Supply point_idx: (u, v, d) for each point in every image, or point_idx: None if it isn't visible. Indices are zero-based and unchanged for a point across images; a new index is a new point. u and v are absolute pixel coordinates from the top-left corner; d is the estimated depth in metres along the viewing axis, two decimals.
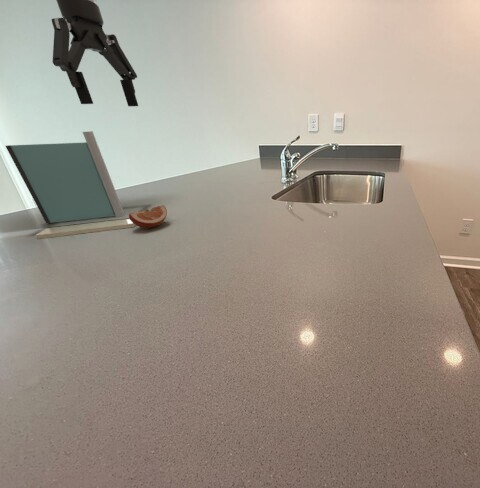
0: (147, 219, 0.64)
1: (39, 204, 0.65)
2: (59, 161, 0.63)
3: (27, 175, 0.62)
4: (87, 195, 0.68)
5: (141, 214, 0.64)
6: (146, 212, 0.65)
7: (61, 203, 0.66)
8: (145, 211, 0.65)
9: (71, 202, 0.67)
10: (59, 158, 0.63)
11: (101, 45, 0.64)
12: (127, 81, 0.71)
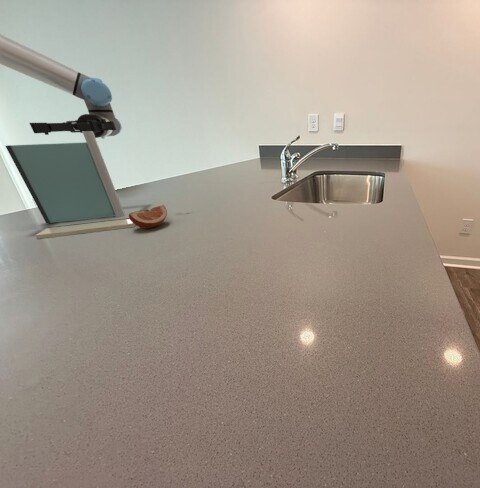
0: (147, 219, 0.64)
1: (39, 204, 0.65)
2: (59, 161, 0.63)
3: (27, 175, 0.62)
4: (87, 195, 0.68)
5: (141, 214, 0.64)
6: (146, 212, 0.65)
7: (61, 203, 0.66)
8: (145, 211, 0.65)
9: (71, 202, 0.67)
10: (59, 158, 0.63)
11: (80, 130, 0.85)
12: (49, 130, 0.78)
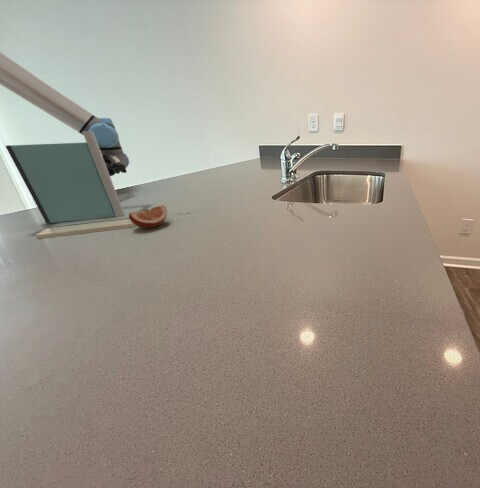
0: (147, 219, 0.64)
1: (39, 204, 0.65)
2: (59, 161, 0.63)
3: (27, 175, 0.62)
4: (87, 195, 0.68)
5: (141, 214, 0.64)
6: (146, 212, 0.65)
7: (61, 203, 0.66)
8: (145, 211, 0.65)
9: (71, 202, 0.67)
10: (59, 158, 0.63)
11: None
12: None
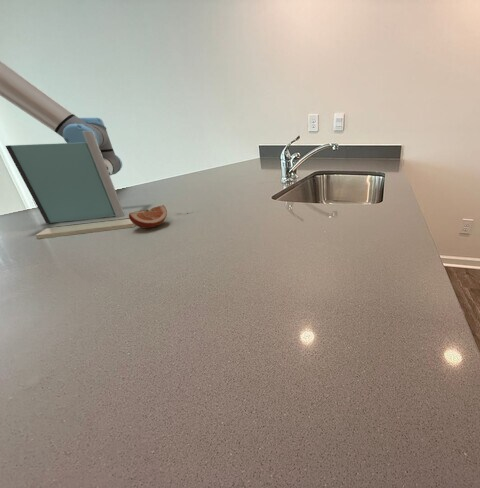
0: (147, 219, 0.64)
1: (39, 204, 0.65)
2: (59, 161, 0.63)
3: (27, 175, 0.62)
4: (87, 195, 0.68)
5: (141, 214, 0.64)
6: (146, 212, 0.65)
7: (61, 203, 0.66)
8: (145, 211, 0.65)
9: (71, 202, 0.67)
10: (59, 158, 0.63)
11: None
12: None
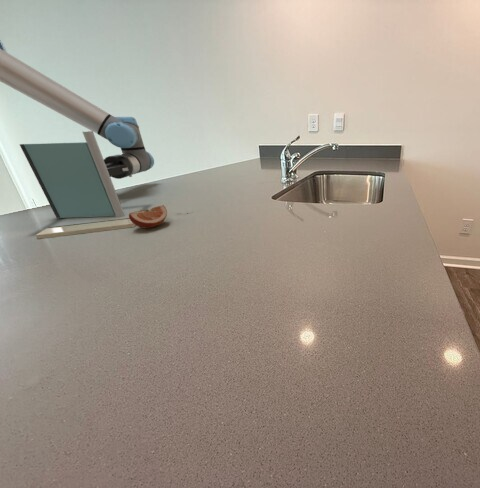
0: (147, 219, 0.64)
1: (50, 200, 0.68)
2: (64, 160, 0.65)
3: (39, 172, 0.65)
4: (90, 194, 0.69)
5: (141, 214, 0.64)
6: (146, 212, 0.65)
7: (68, 200, 0.69)
8: (145, 211, 0.65)
9: (76, 199, 0.69)
10: (64, 157, 0.64)
11: None
12: None
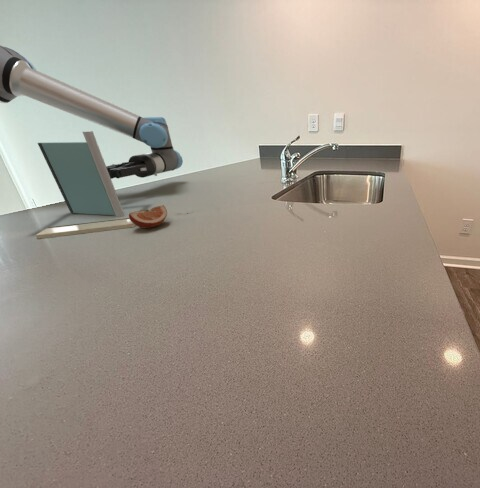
0: (147, 219, 0.64)
1: (64, 196, 0.72)
2: (71, 159, 0.67)
3: (54, 169, 0.69)
4: (94, 192, 0.70)
5: (141, 214, 0.64)
6: (146, 212, 0.65)
7: (78, 197, 0.72)
8: (145, 211, 0.65)
9: (84, 197, 0.71)
10: (71, 156, 0.66)
11: None
12: None
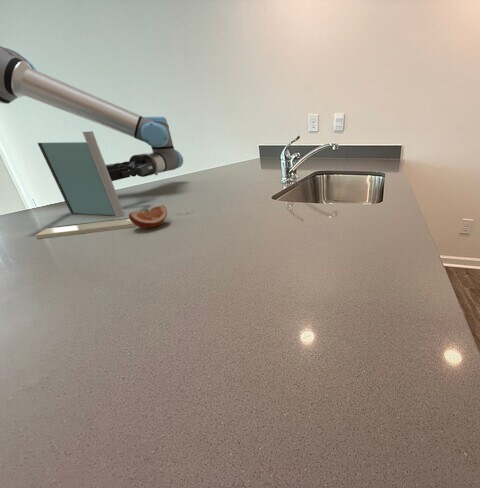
0: (147, 219, 0.64)
1: (64, 196, 0.72)
2: (71, 159, 0.67)
3: (54, 169, 0.69)
4: (94, 192, 0.70)
5: (141, 214, 0.64)
6: (146, 212, 0.65)
7: (78, 197, 0.72)
8: (145, 211, 0.65)
9: (84, 197, 0.71)
10: (71, 156, 0.66)
11: None
12: None
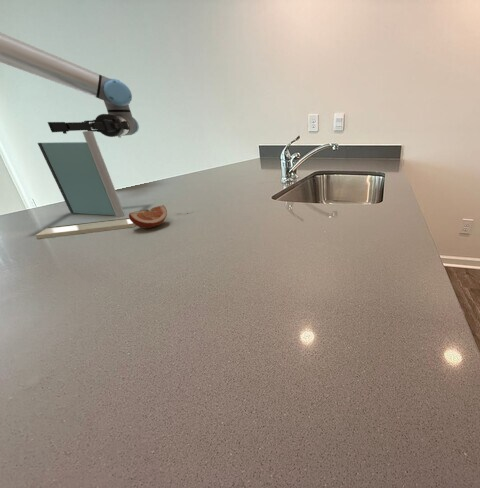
0: (147, 219, 0.64)
1: (64, 196, 0.72)
2: (71, 159, 0.67)
3: (54, 169, 0.69)
4: (94, 192, 0.70)
5: (141, 214, 0.64)
6: (146, 212, 0.65)
7: (78, 197, 0.72)
8: (145, 211, 0.65)
9: (84, 197, 0.71)
10: (71, 156, 0.66)
11: (97, 129, 0.88)
12: (67, 129, 0.81)
